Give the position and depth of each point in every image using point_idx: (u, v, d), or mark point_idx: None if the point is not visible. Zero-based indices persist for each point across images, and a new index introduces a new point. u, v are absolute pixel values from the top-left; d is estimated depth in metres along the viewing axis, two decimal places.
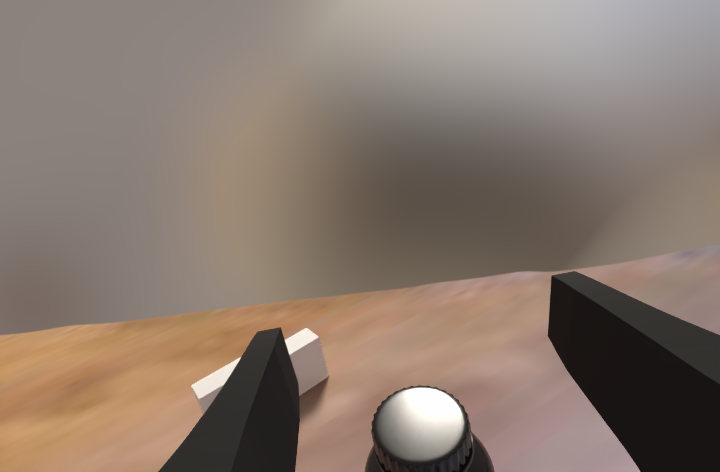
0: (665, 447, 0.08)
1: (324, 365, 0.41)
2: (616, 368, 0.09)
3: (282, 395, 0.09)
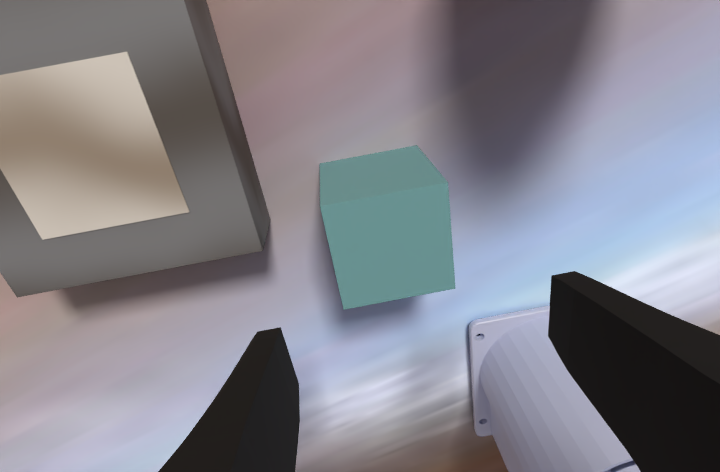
0: (665, 447, 0.08)
1: None
2: (616, 368, 0.09)
3: (282, 396, 0.09)
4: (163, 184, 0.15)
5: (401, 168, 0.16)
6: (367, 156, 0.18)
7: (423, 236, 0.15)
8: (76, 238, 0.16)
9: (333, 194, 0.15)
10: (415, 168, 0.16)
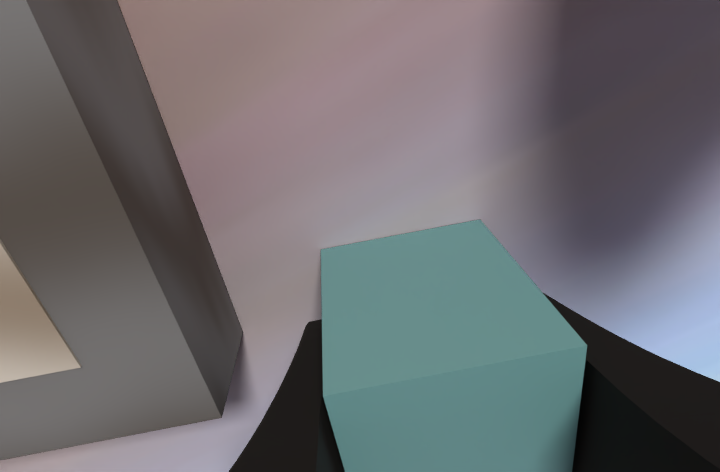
0: (594, 461, 0.08)
1: None
2: None
3: None
4: (24, 323, 0.08)
5: (469, 283, 0.09)
6: (400, 240, 0.11)
7: (524, 432, 0.08)
8: None
9: (349, 352, 0.07)
10: (497, 285, 0.09)
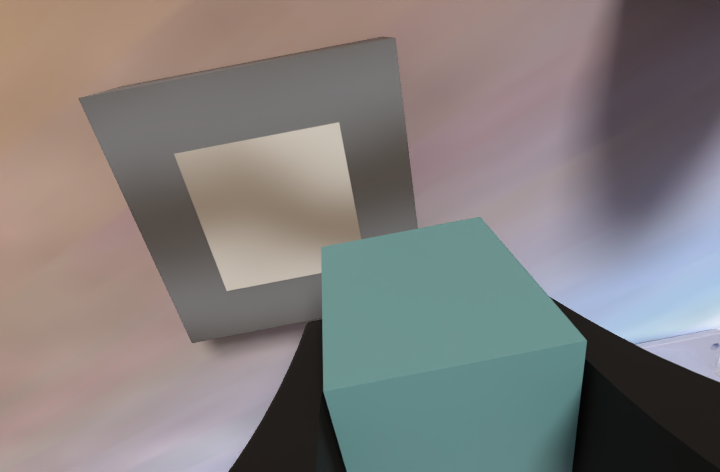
0: (594, 461, 0.08)
1: None
2: None
3: None
4: (346, 239, 0.16)
5: (470, 280, 0.09)
6: (400, 237, 0.11)
7: (524, 427, 0.08)
8: (257, 289, 0.16)
9: (349, 348, 0.08)
10: (497, 281, 0.09)
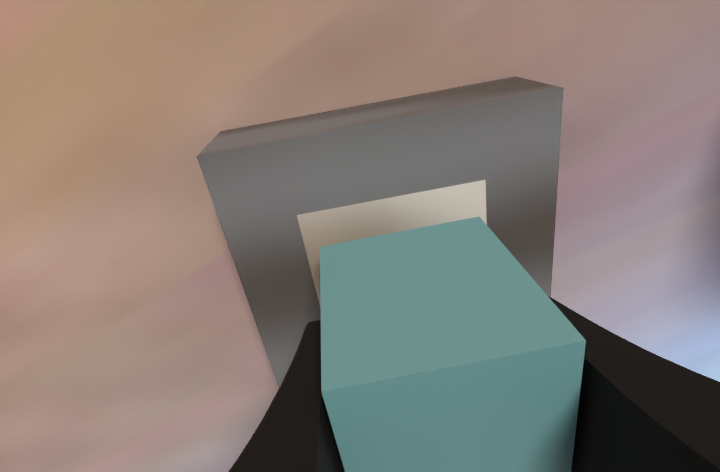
0: (594, 461, 0.08)
1: None
2: None
3: None
4: None
5: (469, 279, 0.09)
6: (399, 237, 0.11)
7: (522, 427, 0.08)
8: None
9: (347, 348, 0.07)
10: (496, 281, 0.09)
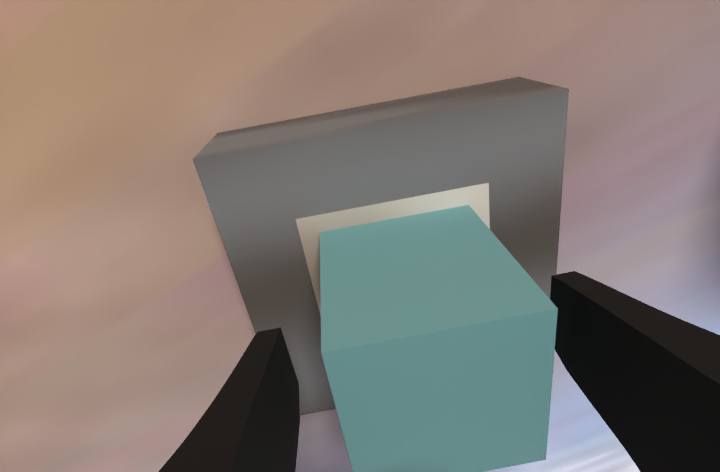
0: (665, 447, 0.08)
1: None
2: (616, 368, 0.09)
3: (282, 395, 0.09)
4: None
5: (456, 259, 0.10)
6: (394, 223, 0.12)
7: (502, 391, 0.08)
8: None
9: (345, 317, 0.08)
10: (481, 260, 0.09)
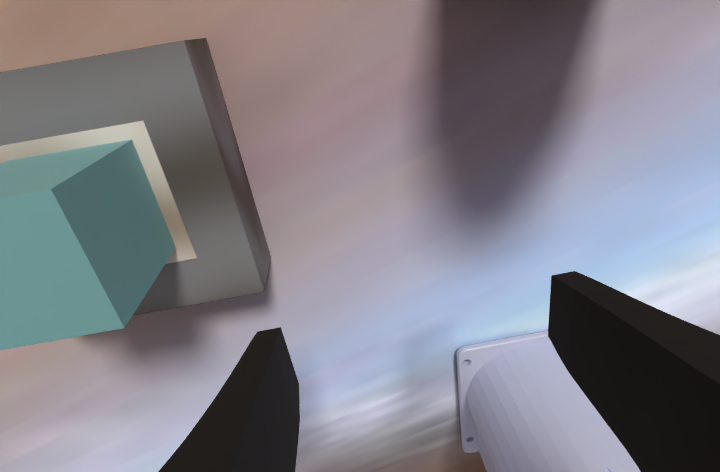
0: (665, 447, 0.08)
1: None
2: (616, 368, 0.09)
3: (282, 395, 0.09)
4: (173, 233, 0.16)
5: (53, 169, 0.12)
6: (62, 152, 0.14)
7: (47, 261, 0.11)
8: None
9: None
10: (66, 168, 0.12)
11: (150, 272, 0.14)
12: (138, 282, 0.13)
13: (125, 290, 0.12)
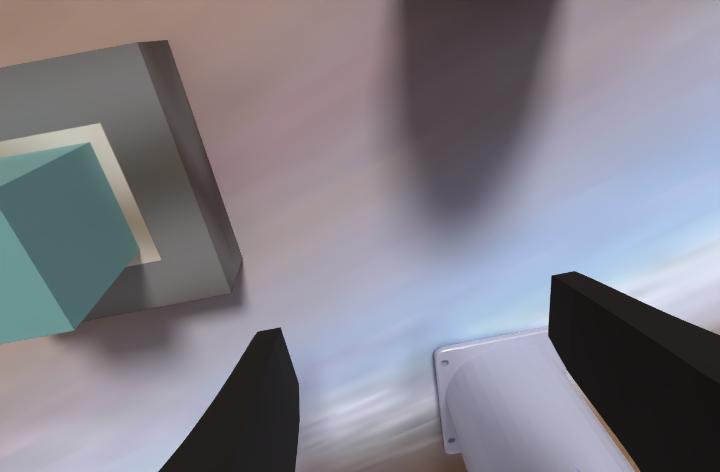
0: (665, 447, 0.08)
1: None
2: (616, 368, 0.09)
3: (282, 396, 0.09)
4: (136, 236, 0.16)
5: (3, 172, 0.12)
6: (20, 155, 0.14)
7: None
8: None
9: None
10: (14, 171, 0.12)
11: (107, 274, 0.14)
12: (93, 284, 0.13)
13: (76, 292, 0.12)
